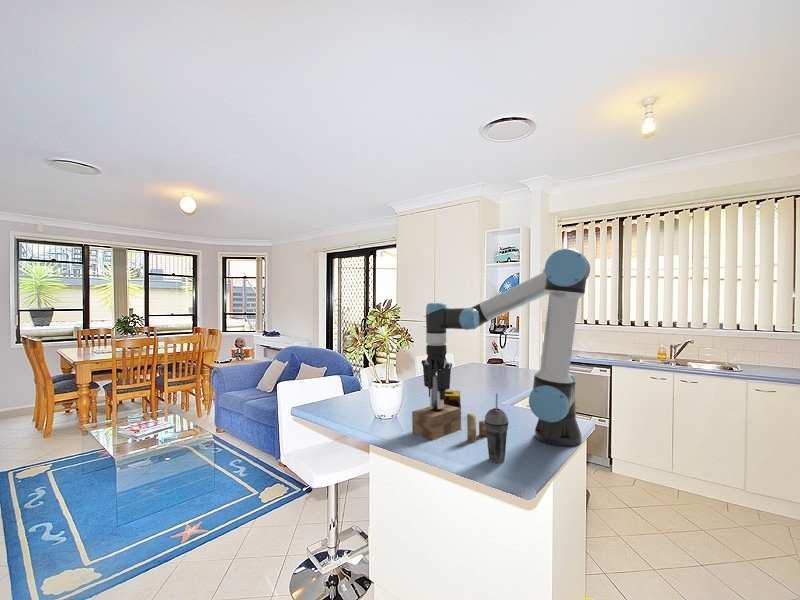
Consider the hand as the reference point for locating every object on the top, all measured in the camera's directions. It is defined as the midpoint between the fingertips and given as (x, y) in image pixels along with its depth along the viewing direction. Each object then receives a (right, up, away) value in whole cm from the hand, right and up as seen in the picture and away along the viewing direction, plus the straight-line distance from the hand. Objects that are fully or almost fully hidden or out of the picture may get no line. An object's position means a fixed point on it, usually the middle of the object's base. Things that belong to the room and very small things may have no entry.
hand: (436, 407), depth 145 cm
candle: (+7, -9, +19) cm, 22 cm away
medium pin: (+11, -9, -10) cm, 18 cm away
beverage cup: (+16, -9, -27) cm, 32 cm away
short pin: (+16, -9, -5) cm, 19 cm away
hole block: (0, -9, 0) cm, 9 cm away
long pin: (0, -4, 0) cm, 4 cm away
